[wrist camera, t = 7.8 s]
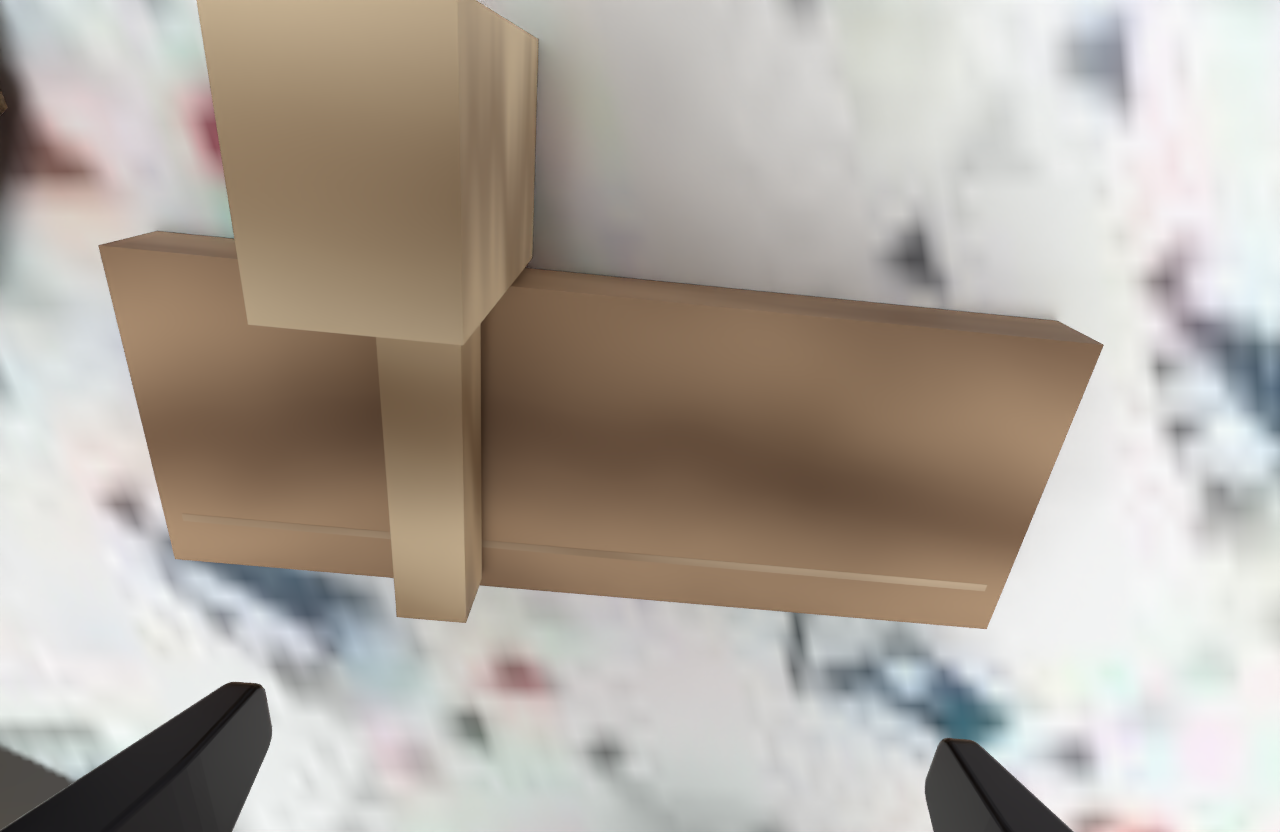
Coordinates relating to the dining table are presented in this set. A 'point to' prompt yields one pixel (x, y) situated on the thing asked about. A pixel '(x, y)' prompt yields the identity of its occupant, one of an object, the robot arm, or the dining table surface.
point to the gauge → (386, 225)
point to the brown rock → (2, 103)
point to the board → (622, 438)
